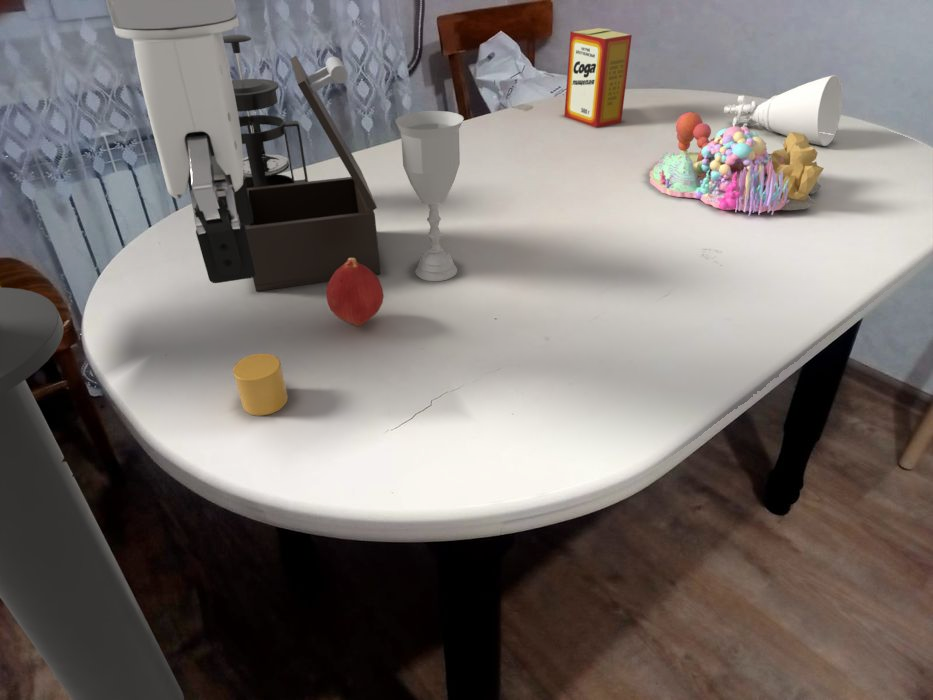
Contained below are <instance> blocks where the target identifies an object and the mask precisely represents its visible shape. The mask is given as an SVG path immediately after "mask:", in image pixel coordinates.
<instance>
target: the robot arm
mask: <svg viewBox="0 0 933 700" xmlns="http://www.w3.org/2000/svg"><path fill="white" fill-rule="evenodd" d="M105 3H106V7H107V10H108V13H109V16H110V20H111V23H112V28H113V30H114V33H115V36H116V37H118V38H121V39H127V40H132V43H133V44H132V45H133V50H134V55H135V60H136V66H137V71H138V72H137V73H138V77H139V81H140V82H139V83H140V85H141V90H142V94H143V100H144V103H145V107H146V111H147V114H148V119H149V122H150V126H151V127H150V128H151V131H152V134H153V138H154V143H155V146H156V151H157V154H158V158H159V162H160V165H161V170H162V173H163V178H164V182H165V186H166V190H167V193H168V194H169V195H170V196H171V197H172V198H174V199H176V200H177V199H178V200H179V199H182V196H183V195H187V191H188V190H189V195H190V200H191V205H192V206H191V207H192V212H193V218H194V224H195V235H196V238H197V241H198V245H199V248H200V252H201V255H202V259H203V263H204V266H205V271H206V273H207V277H208V280H209V281H210V282H211V284H219V283H221V284H222V283H227V282H233V281H240V280H248V279H253V277H254V276H255V274H256V273H255V266H254V261H253V257H252V253H251V249H250V244H249V240H248V236H247V231H246V227H245V225H250V224H252V223H253V215H252V210H251V206H250V201H249V197H248V192H247V188H246V183H245V179H244V176H243V157H244V152H243V144H242V139H241V134H242V130H241V127H240V123H239V117H240V116H239V111H237V105H236V99H235V94H234V89H233V84H232V75H231V69H230V65H229V59H228V55H227V51H226V46H225V43H224V41H223V36H224V35H223V33H225V32H228V31H232V30H234V29H236V28H238V27H239V26H240V22H239V18H238V11H237V7H236V3H235V0H105ZM188 188H189V189H188Z"/></svg>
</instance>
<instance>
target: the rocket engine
mask: <svg viewBox="0 0 933 700" xmlns="http://www.w3.org/2000/svg"><path fill="white" fill-rule="evenodd" d="M842 87H843V86H842V82H841V80H840V77H839V76H837V74H832V75H829V76H824V77H821V78H818V79H815V80H812V81H809V82H807V83H804V84H800V85H799V86H796V87H793V88H791V89H789V90H786V91H784V92H782V93H779V94H778V95H777V94H776V95H773V96H771V97H770V98H768V99H767V100H765V101H762V102H761V103H760V104H758V105H757V101H756V100H752V101H751V104H750V103H749V100H748V98H747V97H746V95H738V96H737V97H738V98H737V99H736V101H737V104H738V105H736V104H735V103H733V104H732V105H731V104H729V103H728V104H727V105H726V106H724V108H723V113H724V114H735V116H734V117H733V121H732V123H731V125H732V126H738V125H740V124H743V125H742V126H741V127H740V128H741V129H742V128H743V127H748V125H751V126H754V125H756V124H758V125H759V126H761V127H764V128H765V129H767V130H768V131H769V132H770V133H774V132H775V133H778V134H780V135H782V136H785V137H787V136H788V135H789V134H790V132H795V133H800V134H804V135H805V136H806V137H807V139H808V142H809V144H812V145H816V146H822V147H827V146H829V145H830V143H832V141H833V139H834V138H835V135H836V133H837V131H838V128H839V124H840V119H841V115H842V109H843V88H842ZM819 132H825V133H831V134H835V135H828V134H823V133H819Z"/></svg>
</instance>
